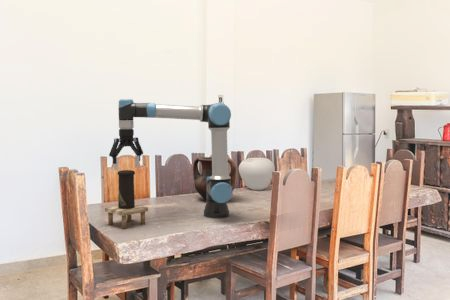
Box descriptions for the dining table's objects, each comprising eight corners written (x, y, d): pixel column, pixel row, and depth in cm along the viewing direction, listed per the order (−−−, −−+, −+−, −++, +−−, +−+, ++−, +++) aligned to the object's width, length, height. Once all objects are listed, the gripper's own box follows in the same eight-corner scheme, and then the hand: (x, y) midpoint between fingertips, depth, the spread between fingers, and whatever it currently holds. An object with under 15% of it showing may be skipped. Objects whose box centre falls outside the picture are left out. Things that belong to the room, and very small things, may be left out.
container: (119, 205, 237) (119, 169, 236) (136, 205, 238) (136, 169, 236) (116, 209, 229) (115, 171, 227) (133, 209, 229) (133, 171, 228)
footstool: (148, 223, 235) (148, 207, 234) (123, 229, 223) (123, 212, 222) (129, 219, 245) (129, 203, 244) (105, 224, 233) (105, 207, 232)
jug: (241, 197, 312) (242, 155, 309) (232, 205, 284) (232, 159, 282) (198, 195, 319) (198, 154, 317) (185, 202, 292) (185, 158, 290)
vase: (257, 185, 367) (257, 156, 365) (281, 189, 347) (281, 158, 345) (232, 188, 349) (232, 158, 347) (255, 193, 329) (256, 160, 327)
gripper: (140, 128, 242) (141, 166, 244) (101, 129, 224) (102, 170, 225) (149, 128, 237) (149, 167, 239) (110, 129, 219) (111, 171, 220)
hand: (126, 168), depth 232 cm, fingers open, 13 cm apart
